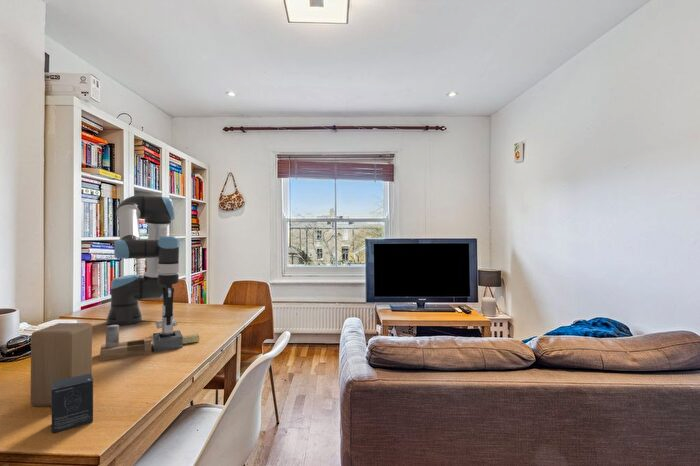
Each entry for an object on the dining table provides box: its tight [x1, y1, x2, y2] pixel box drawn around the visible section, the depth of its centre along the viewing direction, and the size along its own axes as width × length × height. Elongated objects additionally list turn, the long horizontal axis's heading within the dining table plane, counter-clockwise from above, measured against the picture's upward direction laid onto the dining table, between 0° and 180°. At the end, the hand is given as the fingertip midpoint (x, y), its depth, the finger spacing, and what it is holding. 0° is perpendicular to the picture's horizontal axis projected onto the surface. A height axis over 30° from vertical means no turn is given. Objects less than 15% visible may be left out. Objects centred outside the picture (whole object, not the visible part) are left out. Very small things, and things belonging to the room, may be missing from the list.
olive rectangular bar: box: [182, 333, 200, 345], centre depth 145 cm, size 3×8×2 cm, turn 123°
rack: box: [99, 325, 152, 362], centre depth 132 cm, size 8×16×11 cm, turn 123°
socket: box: [152, 329, 184, 353], centre depth 141 cm, size 10×10×4 cm
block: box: [30, 322, 93, 407], centre depth 97 cm, size 10×10×20 cm
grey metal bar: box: [161, 305, 174, 338], centre depth 141 cm, size 4×4×16 cm
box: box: [50, 372, 94, 434], centre depth 85 cm, size 8×6×11 cm
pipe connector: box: [155, 318, 178, 329], centre depth 156 cm, size 10×10×10 cm
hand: (167, 330), depth 141 cm, fingers closed on grey metal bar, 4 cm apart
